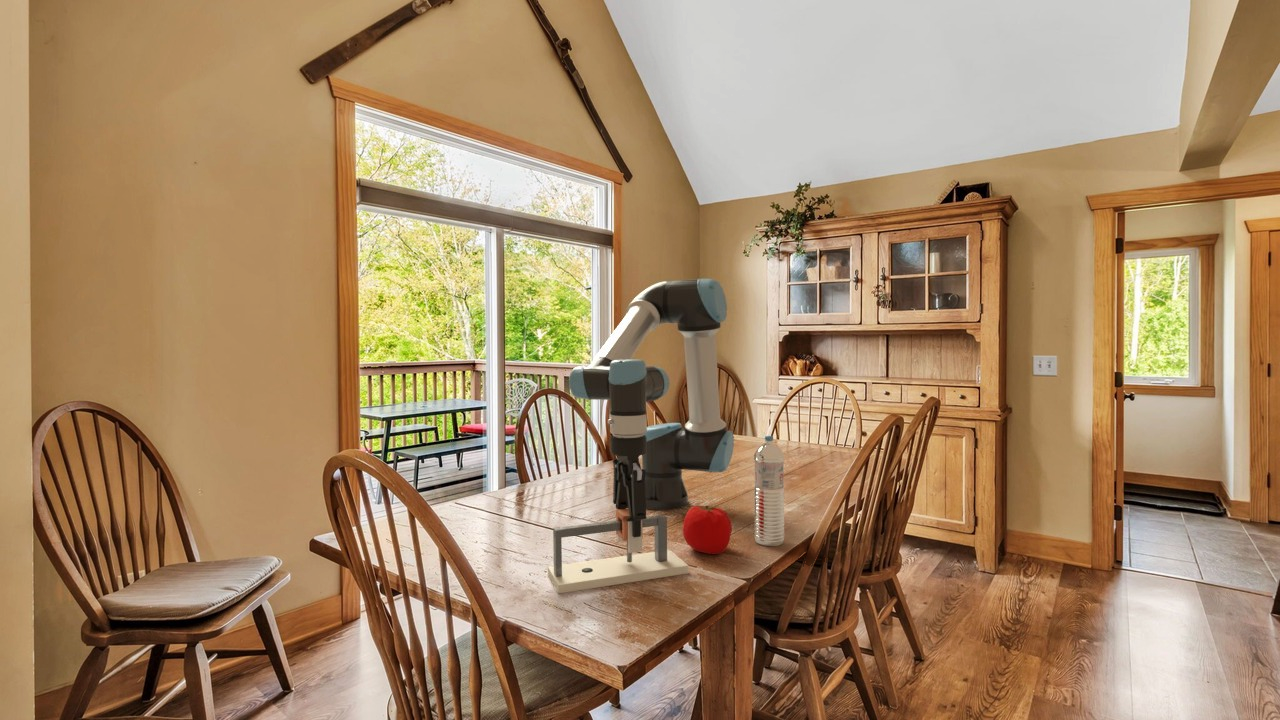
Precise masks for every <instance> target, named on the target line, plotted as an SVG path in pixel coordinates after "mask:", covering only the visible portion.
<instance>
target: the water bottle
mask: <svg viewBox="0 0 1280 720" xmlns="http://www.w3.org/2000/svg"><path fill="white" fill-rule="evenodd" d="M764 441H765V442H764V443H763V444H761V445H760V446H759V447H758V448H757V449H756V451H755V452H754V455H753V459H754V501H753V502H754V541H755V543H757V544H758V545H761V546H763V547H778V546H781V545H783V544H784V540H785V488H784V486H785V485H784V481H785V480H784V479H785V478H784V472H785V471H784V462H785V454H784V453H783V451H782V450H781V448H780V447H779V446H778V445H777V444H775V443H774V436H772V435H765V437H764Z"/></svg>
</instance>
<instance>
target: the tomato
mask: <svg viewBox="0 0 1280 720" xmlns="http://www.w3.org/2000/svg"><path fill="white" fill-rule="evenodd" d="M732 526H733V525H732V520H731V519H730V517H729V515H728V514H727V512H725V511H724V510H723V509H722V508H719V505H717V506H714V507H711V506H710V505H694V506H692V507H690V508H689V510H688V511H687V512H686V515H685V516H684V519H683V527H682V534H683V539H684V540H685V543H687V545H689V547H690V548H692V549H693V550H695V551H697V552H700V553H705V554H708V555H719V554H721V553H723V552H725V550H726V549H727V547H729V544H730V540H731V534H732V529H733V527H732Z"/></svg>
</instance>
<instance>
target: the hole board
mask: <svg viewBox="0 0 1280 720" xmlns="http://www.w3.org/2000/svg"><path fill="white" fill-rule="evenodd" d="M686 574H689V564H687V563H686V562H684V560H682V559H681V558H680V557H678V555H676V554H675V553H674V552H673V551H671V550H670V549H667V561H661V562H658V561H657V560H656V559H655V551H649V552H644V553H643V552H642V553H635V554H632V562H627V555H622V556H621V555H620V556H613V557H608V558H607V557H606V558H600V559H594V560H593V559H592V560H586V561H579V562H578V561H577V562H572V563H562V576H560V577H556V576H555V575H554V565H549V566H547V575H548V577H549V579H550V581H551V583H552V584H553V587H554V588H555V590H556V592H557V593H558V594H562V593H569V592H577V591H582V590H590V589H595V588H602V587H608V586H609V587H610V586H614V585H621V584H627V583H634V582H642V581H647V580H653V579H660V578H665V577H672V576H678V575H679V576H680V575H686Z"/></svg>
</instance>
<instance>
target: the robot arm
mask: <svg viewBox="0 0 1280 720" xmlns="http://www.w3.org/2000/svg"><path fill="white" fill-rule="evenodd" d="M727 310H728V305H727V298H726V294H725V290H724V288H723V287H722V284H721V283H720V282H719V281H718V280H717V279H715V278H692V279H690V278H689V279H679V280H678V279H677V280H662V281H659V282H656V283H654V284H652V285H650V286H648V287H646V289H644V290H642V291H641V292H640V293H639V294H637V295H636V296H635V297H634V298H633V299H632V300H631V302H630V303H629V304H628V305H627V307H626V311H625V312H626V313H625V316H624V317H623V319H622V320H621V321H620V323H619V324H618V325H617V327H616V328H615V329H614V331H613V332H612V333H611V335H610V336H609V338H607V340H606V342H605V343H604V345H602V346H601V348H600V350H599V351H597V354H596V355H595V356H594V358H593V359H592V360H591V362H590V363H589V364H588V365H581V366H580V365H579V366H576V367H573V369H572V370H571V372H570V374H569V378H568V386H569V390H570V393H571V395H572V396H573V397H574V398H577V399H582V400H583V399H585V400H588V401H589V400H590V401H591V400H597V401H598V400H599V401H602V400H603V401H609V419H607V424H608V425H609V432H610V434H612V435H610V437H609V453H610V454H611V455H612V456H616V457H617V458H613V459H612V463H613V464H612V465H613V491H612V492H613V493H612V494H613V495H612V499H613V500H612V503H613V505H615V509H616V510H619V509H628V508H629V516H630V518H628V519H626V520H627V522H628V552H629V553H632V554H633V553H635V554H636V553H641V552H642V553H643V539H642V531H643V528H642V520H643V519H646V517H647V509H648V510H655V511H659V510H661V511H663V510H664V511H666V510H668V511H669V510H676V509H681V508H684V507H686V506H687V505H688V504H689V496H688V491H687V489H686V486H685V483H684V480H683V476H682V474H683V472H682V470H685V471H696V472H706V473H707V472H708V473H722V472H725V471H726V470H727V469H728V468H729V467H730V464H731V460H732V458H733V452H734V445H735V436H734V432H732V431H730V430H727V423H726V422H725V421H724V420H723V419H722V418H721V412H720V411H721V410H720V409H721V408H720V407H721V406H720V393H719V376H718V375H719V374H718V372H719V371H718V359H717V358H718V357H717V356H718V355H717V344H716V343H717V340H716V339H717V338H716V334H717V332H718V331H720V330H721V328H722V327H721V324H722V323H723V322H725V321H726V319H727V316H728V315H727V314H728V313H727ZM661 324H677V331H678V332H679V333H680V334H681V335H682V336H683V344H684V357H685V369H686V371H685V372H686V373H685V374H686V384H687V385H686V386H687V388H686V389H687V400H688V402H687V403H688V417H689V419H688V421H687V422H686V423H685V424H684V428H683V425H682V423H680V422H667V423H659V424H654V425H649V426H647V425H648V424H647V423H648V421H647V420H648V419H647V418H648V417H647V402H652V401H653V402H654V401H656V400H659V399H661V398H663V397H664V396H665V395H666V394H667V393H668V391H669V389H670V379H669V375H668V373H667V372H666V371H665V370H664V369H663V368H661V367H659V366H656V365H655V366H654V365H651V366H650V365H647V366H646V362H645V361H644V360H643V359H638V358H636V359H635V358H634V359H633V357H634V356H635V354H636V352H638V350H639V348H640V346H642V344H643V342H644V340H645V339H646V337H647V336H648V335H649V333H650V332H653V331H654V330H656V328H657V327H659V325H661ZM640 456H641V463H640V459H639V458H640ZM616 535H617V534H616ZM616 542H617V543H621V542H624V541H623V540H622V539H621V538H620V537H619V536H618V535H617V537H616Z"/></svg>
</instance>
